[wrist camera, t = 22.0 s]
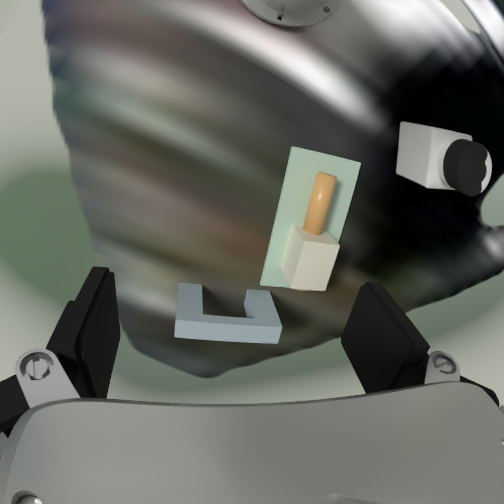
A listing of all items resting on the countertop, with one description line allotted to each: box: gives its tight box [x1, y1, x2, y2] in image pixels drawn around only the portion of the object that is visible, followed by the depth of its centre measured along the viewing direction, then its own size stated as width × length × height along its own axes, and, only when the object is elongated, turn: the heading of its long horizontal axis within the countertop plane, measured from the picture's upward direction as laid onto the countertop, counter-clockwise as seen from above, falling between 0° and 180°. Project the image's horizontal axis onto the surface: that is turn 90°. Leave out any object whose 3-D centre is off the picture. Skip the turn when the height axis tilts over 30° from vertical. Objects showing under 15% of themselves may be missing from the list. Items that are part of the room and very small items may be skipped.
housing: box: [175, 282, 282, 343], centre depth 38 cm, size 2×12×8 cm, turn 79°
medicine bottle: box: [396, 122, 492, 196], centre depth 32 cm, size 7×7×12 cm
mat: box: [260, 146, 361, 288], centre depth 39 cm, size 18×9×1 cm, turn 169°
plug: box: [281, 172, 340, 291], centre depth 37 cm, size 14×4×5 cm, turn 169°
